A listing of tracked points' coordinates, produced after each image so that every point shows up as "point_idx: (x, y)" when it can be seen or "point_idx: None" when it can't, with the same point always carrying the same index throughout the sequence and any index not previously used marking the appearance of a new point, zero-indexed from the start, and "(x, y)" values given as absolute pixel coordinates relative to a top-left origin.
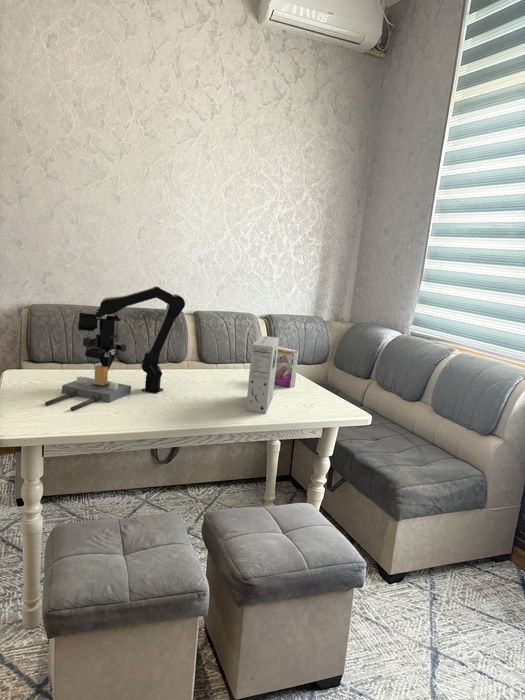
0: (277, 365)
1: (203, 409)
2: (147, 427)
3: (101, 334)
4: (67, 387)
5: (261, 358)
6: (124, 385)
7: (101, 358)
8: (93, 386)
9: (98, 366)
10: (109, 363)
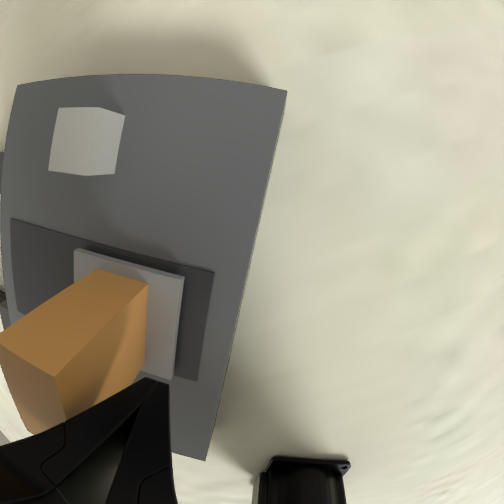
0: None
1: None
2: (12, 438)
3: None
4: (13, 127)
5: None
6: (189, 439)
7: (6, 481)
8: (53, 283)
9: (17, 379)
10: (105, 500)
